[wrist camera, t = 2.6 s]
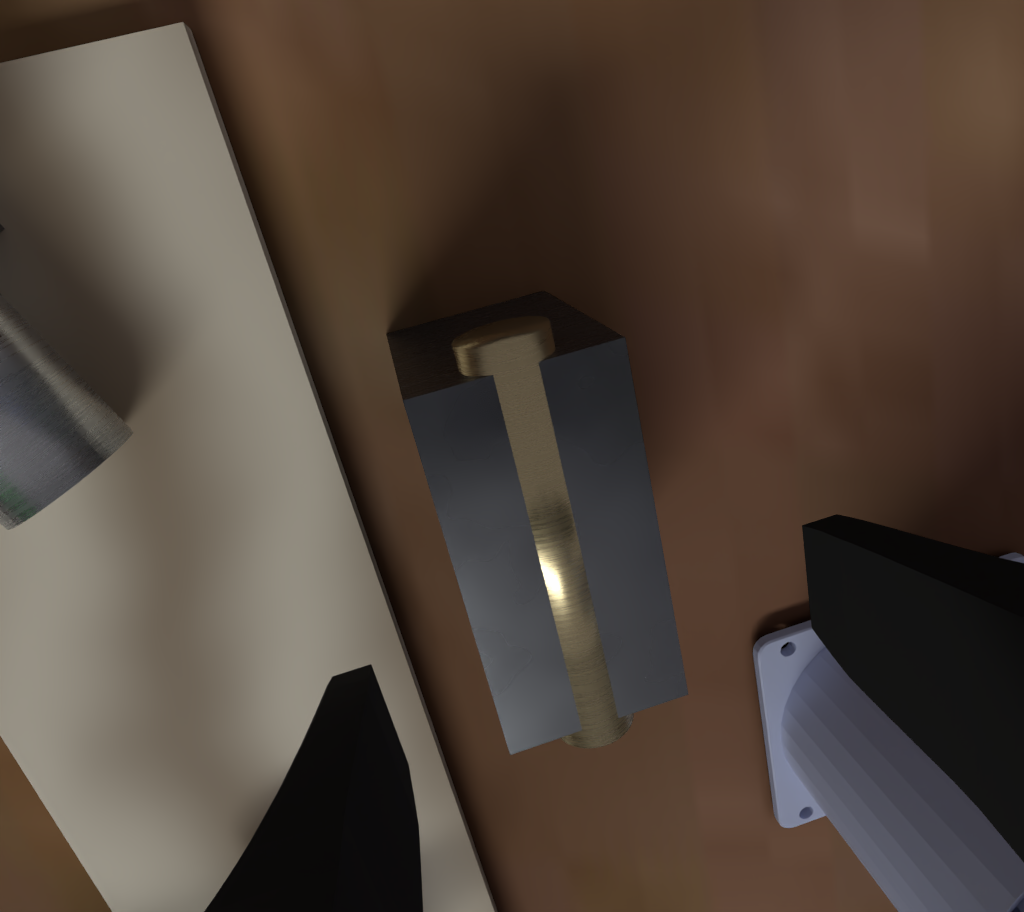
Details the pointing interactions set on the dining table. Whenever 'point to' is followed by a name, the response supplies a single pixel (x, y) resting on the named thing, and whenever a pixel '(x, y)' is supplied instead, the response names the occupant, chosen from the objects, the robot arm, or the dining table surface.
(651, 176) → the dining table surface
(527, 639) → the grey slotted block
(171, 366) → the board
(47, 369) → the angled shaft
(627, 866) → the dining table surface
